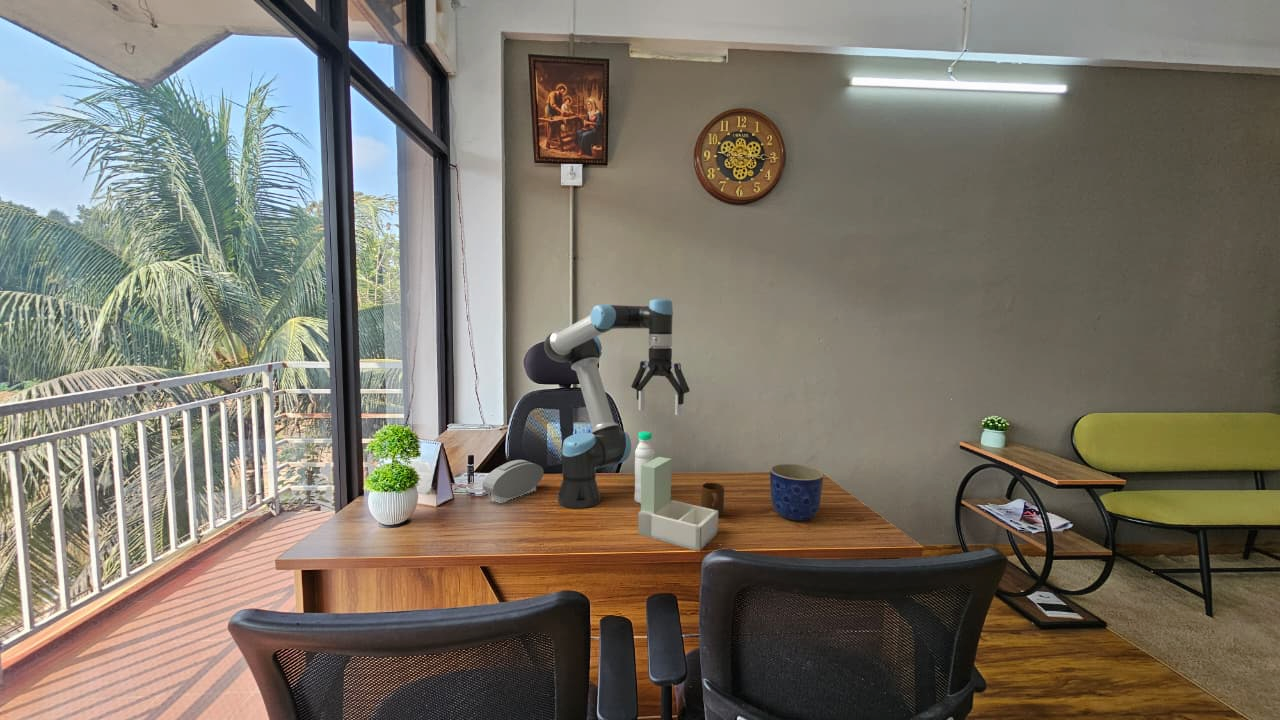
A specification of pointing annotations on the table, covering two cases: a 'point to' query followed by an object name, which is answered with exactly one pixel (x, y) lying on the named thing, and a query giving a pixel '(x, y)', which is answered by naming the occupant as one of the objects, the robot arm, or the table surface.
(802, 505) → the planter
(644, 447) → the water bottle
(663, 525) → the desk organizer
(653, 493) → the pale green block
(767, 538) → the table surface
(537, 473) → the grey rounded oblong block
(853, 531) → the table surface
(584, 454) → the robot arm
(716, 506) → the mug
